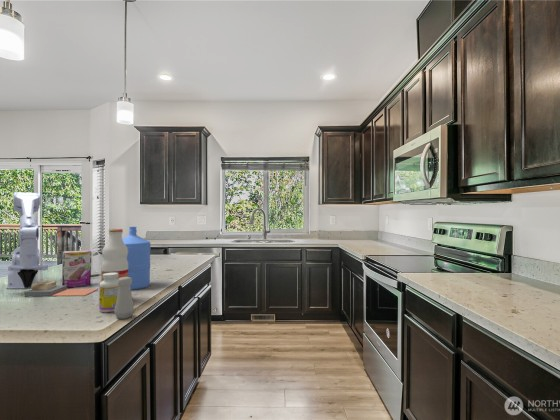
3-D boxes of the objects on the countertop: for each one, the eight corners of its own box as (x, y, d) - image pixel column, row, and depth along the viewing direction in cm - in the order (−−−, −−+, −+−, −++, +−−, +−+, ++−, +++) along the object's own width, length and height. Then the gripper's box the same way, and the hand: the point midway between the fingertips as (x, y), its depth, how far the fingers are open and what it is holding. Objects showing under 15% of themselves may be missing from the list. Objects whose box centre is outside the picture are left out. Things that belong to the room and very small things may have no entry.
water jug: (157, 284, 150) (158, 226, 150) (132, 292, 135) (133, 227, 135) (131, 282, 155) (132, 226, 155) (104, 289, 140) (105, 227, 140)
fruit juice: (99, 299, 123) (101, 228, 124) (126, 295, 129) (127, 228, 129) (101, 304, 116) (102, 229, 116) (129, 301, 121) (130, 229, 121)
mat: (51, 296, 127) (51, 295, 127) (67, 289, 138) (67, 289, 138) (84, 296, 128) (84, 295, 128) (98, 289, 139) (98, 288, 139)
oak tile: (31, 290, 128) (31, 284, 128) (41, 286, 134) (41, 281, 134) (47, 290, 129) (47, 284, 129) (56, 286, 135) (56, 281, 135)
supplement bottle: (101, 308, 112) (102, 272, 112) (121, 306, 114) (122, 271, 114) (97, 313, 105) (97, 275, 105) (118, 312, 107) (119, 274, 108)
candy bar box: (62, 289, 139) (63, 252, 139) (61, 287, 143) (62, 251, 143) (91, 285, 146) (91, 250, 146) (89, 283, 150) (90, 249, 150)
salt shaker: (112, 320, 99) (112, 279, 99) (116, 315, 104) (116, 276, 104) (132, 319, 100) (132, 278, 101) (135, 313, 106) (135, 275, 106)
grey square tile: (24, 296, 126) (24, 291, 126) (42, 290, 137) (43, 285, 137) (50, 296, 127) (50, 291, 127) (66, 289, 138) (66, 285, 138)
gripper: (2, 256, 127) (1, 289, 126) (40, 256, 128) (39, 289, 128) (15, 254, 134) (14, 286, 133) (51, 254, 135) (50, 285, 135)
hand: (27, 287), depth 131 cm, fingers closed
